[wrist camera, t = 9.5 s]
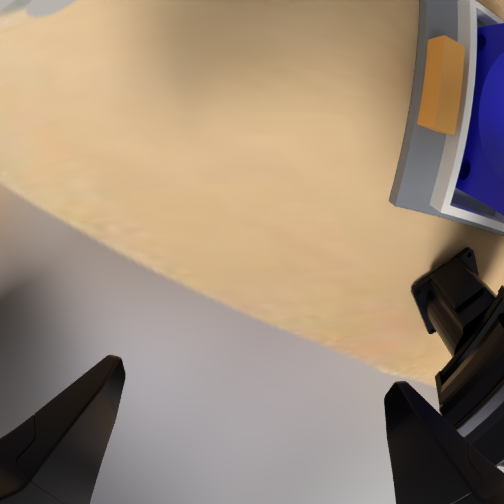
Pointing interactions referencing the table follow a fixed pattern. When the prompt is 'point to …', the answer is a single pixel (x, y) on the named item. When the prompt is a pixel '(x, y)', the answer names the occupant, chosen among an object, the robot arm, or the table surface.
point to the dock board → (422, 139)
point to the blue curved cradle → (486, 123)
